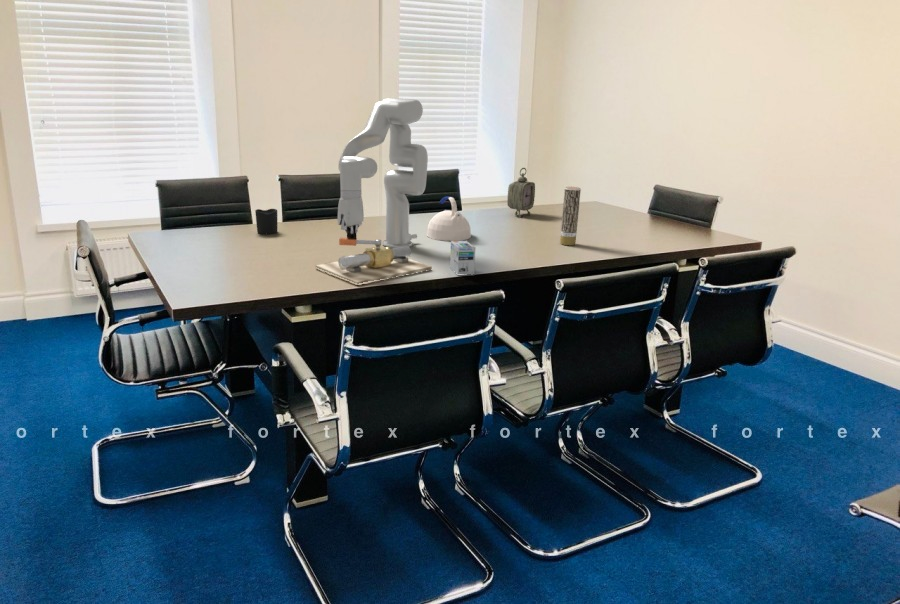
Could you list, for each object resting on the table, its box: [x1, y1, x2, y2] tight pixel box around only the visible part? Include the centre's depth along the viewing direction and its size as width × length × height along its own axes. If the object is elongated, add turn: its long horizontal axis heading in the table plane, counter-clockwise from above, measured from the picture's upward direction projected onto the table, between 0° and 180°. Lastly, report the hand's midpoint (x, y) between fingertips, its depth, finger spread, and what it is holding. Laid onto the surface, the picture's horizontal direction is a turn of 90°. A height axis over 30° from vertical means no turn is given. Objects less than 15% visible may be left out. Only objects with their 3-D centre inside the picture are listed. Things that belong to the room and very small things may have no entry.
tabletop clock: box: [506, 167, 536, 218], centre depth 360 cm, size 14×9×25 cm, turn 147°
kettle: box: [426, 195, 472, 242], centre depth 310 cm, size 20×21×18 cm
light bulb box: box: [449, 240, 476, 276], centre depth 256 cm, size 11×7×11 cm, turn 17°
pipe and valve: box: [338, 245, 412, 273], centre depth 253 cm, size 30×6×8 cm, turn 133°
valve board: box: [315, 258, 433, 284], centre depth 255 cm, size 34×26×2 cm
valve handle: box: [338, 237, 382, 247], centre depth 252 cm, size 3×15×2 cm, turn 89°
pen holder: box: [254, 208, 278, 235], centre depth 305 cm, size 9×9×10 cm
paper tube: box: [559, 186, 582, 247], centre depth 301 cm, size 7×7×25 cm
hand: (351, 243), depth 256 cm, fingers closed
